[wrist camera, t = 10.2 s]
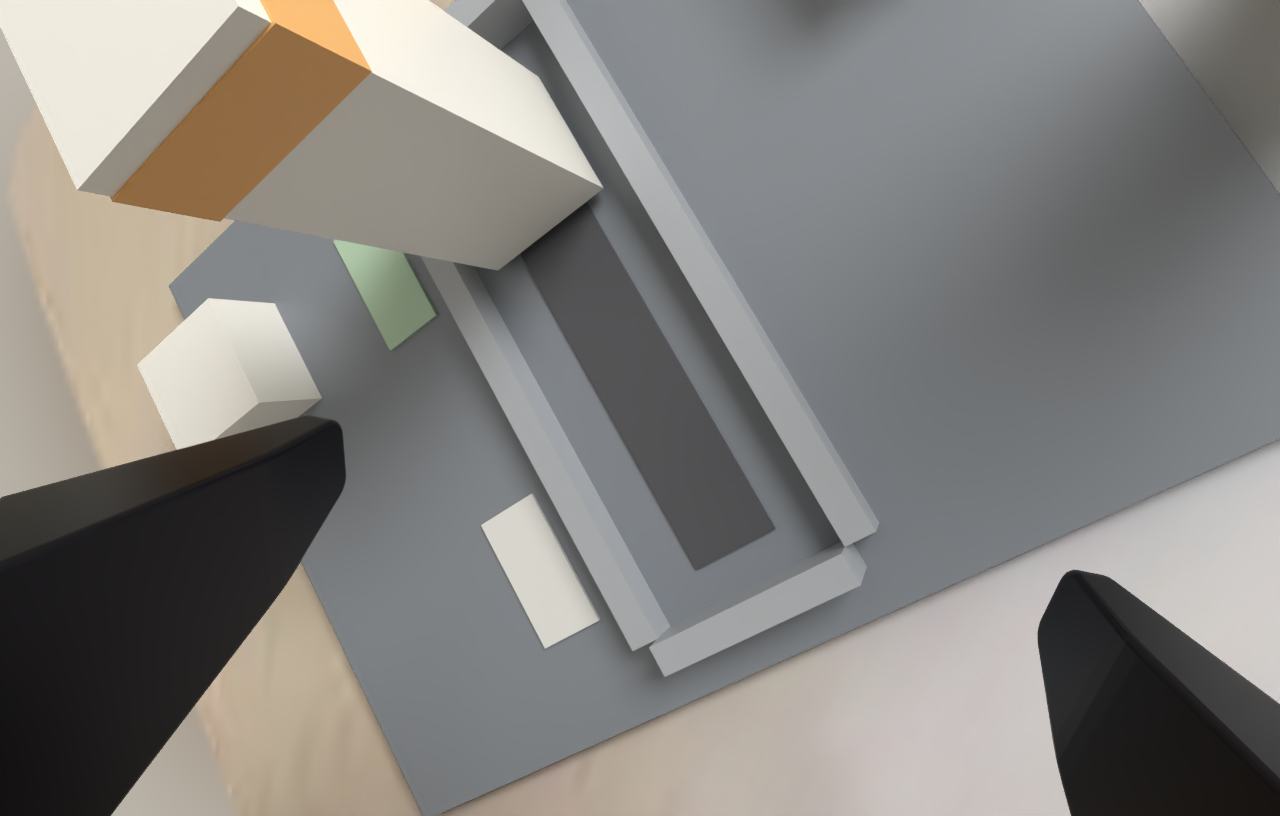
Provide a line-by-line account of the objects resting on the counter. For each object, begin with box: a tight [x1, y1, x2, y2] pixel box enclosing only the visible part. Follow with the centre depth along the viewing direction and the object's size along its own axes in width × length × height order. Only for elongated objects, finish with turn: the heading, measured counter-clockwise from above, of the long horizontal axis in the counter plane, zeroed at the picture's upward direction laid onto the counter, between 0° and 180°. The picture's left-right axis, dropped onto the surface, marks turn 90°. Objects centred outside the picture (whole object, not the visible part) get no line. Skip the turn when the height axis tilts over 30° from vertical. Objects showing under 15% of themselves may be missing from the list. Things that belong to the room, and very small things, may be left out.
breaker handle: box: [0, 0, 603, 271], centre depth 15 cm, size 4×4×11 cm
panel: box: [137, 0, 1280, 816], centre depth 19 cm, size 20×27×3 cm
